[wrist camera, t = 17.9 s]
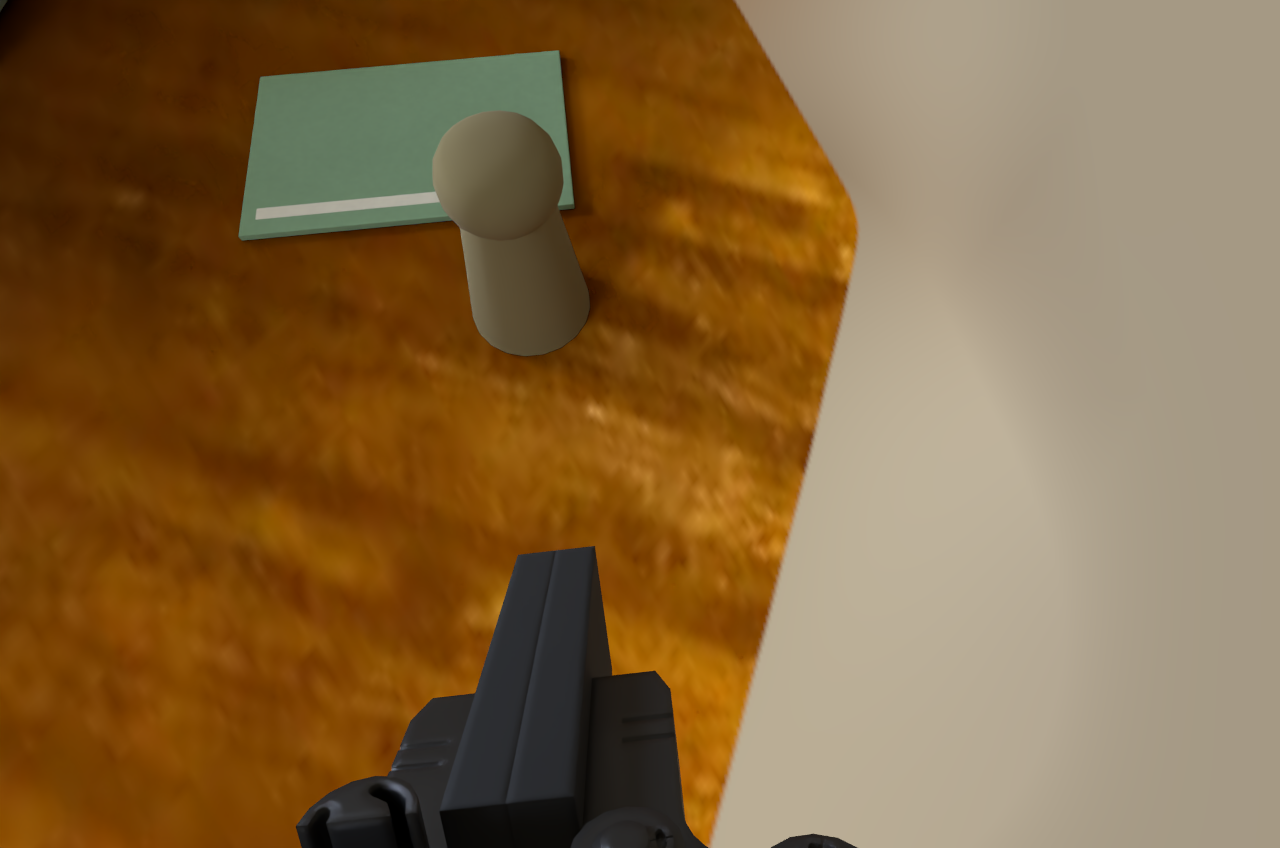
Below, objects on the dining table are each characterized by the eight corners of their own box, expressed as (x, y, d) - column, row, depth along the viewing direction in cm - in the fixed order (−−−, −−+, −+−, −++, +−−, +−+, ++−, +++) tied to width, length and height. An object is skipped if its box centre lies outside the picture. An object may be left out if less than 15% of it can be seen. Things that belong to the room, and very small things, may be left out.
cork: (508, 376, 37) (456, 230, 27) (451, 291, 39) (384, 126, 29) (612, 318, 38) (599, 159, 28) (552, 239, 41) (520, 64, 31)
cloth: (559, 55, 46) (559, 49, 46) (574, 209, 41) (573, 203, 41) (263, 82, 46) (259, 76, 45) (241, 241, 41) (237, 235, 40)
